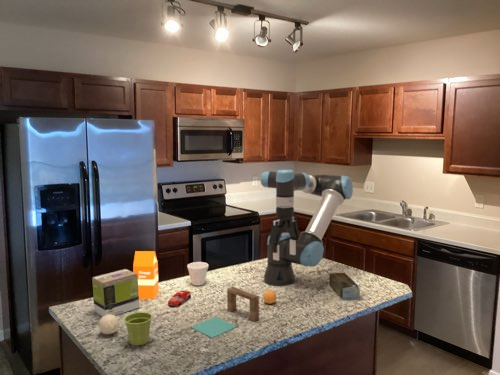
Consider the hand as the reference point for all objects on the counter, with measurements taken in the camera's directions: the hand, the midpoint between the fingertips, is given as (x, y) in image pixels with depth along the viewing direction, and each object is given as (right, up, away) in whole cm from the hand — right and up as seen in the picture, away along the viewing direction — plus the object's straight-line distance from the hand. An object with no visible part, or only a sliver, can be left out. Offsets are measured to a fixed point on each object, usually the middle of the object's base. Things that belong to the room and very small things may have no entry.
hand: (284, 257), depth 182 cm
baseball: (-65, -22, -31) cm, 75 cm away
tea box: (-69, -20, -11) cm, 72 cm away
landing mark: (-28, -21, -27) cm, 44 cm away
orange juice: (-60, -18, +4) cm, 63 cm away
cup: (-39, -16, +19) cm, 47 cm away
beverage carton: (+27, -17, +8) cm, 33 cm away
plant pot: (-53, -23, -38) cm, 69 cm away
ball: (-7, -16, -5) cm, 18 cm away
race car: (-45, -19, -2) cm, 49 cm away
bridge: (-18, -20, -16) cm, 31 cm away
